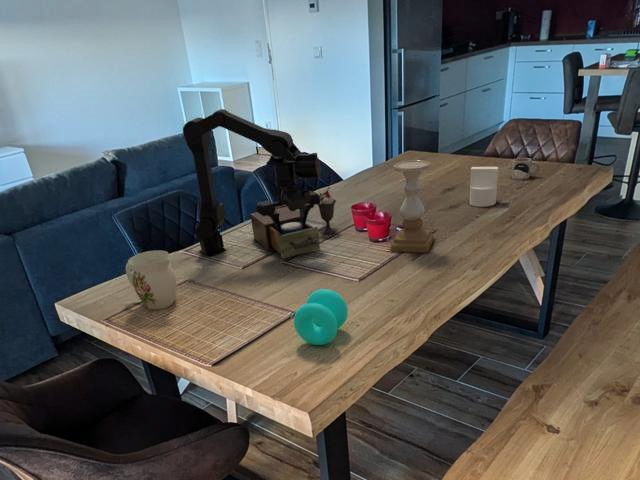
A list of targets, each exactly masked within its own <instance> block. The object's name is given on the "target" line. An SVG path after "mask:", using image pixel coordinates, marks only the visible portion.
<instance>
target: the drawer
mask: <svg viewBox="0 0 640 480" xmlns="http://www.w3.org/2000/svg"><path fill="white" fill-rule="evenodd" d="M289 222H300V223H301V221H300V219H298V220H293V221H289ZM289 222H285V223H289ZM285 223H281V224H280V225H282V224H285ZM267 228H268V234H269V241H270V245H271V246H272V247H273V248H274V249H275V251H277V252H278V253H279V254H280V257H281V259H286V258H290V257H295V256H299V255H302V254H306V253H310V252H314V251H318V250H321V245H320V235H319V227H318V226H312V225H311V224H309V223H307V222H306V223H305V227H304V230H301V231H296V232H292V233H288V234H284V235H281V233H279V231H278V230H277V228H276V226H275V225H272V226H268V227H267Z"/></svg>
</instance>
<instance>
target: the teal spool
mask: <svg viewBox="0 0 640 480" xmlns="http://www.w3.org/2000/svg"><path fill="white" fill-rule="evenodd" d="M348 315H349V309H348V306H347V303H346V301H345V299H344V298H343V297H342V295H340V294H339V293H338V292H336V291H334V290H331V289H329V288H328V289H327V288H320V289H317V290H315V291H313V292H312V293H310V294H309V296H308V298H307V299H306V303H305V304H303V305H301V306H300V307H298V309H297V310H296V312H295V314H294V317H293V326H294V329H295V331H296V333H297V335H298V336H299V337H300V338H301V339H302V340H303V341H304V342H306V343H307V344H309V345H313V346H324V345H327V344H329V343H331V342H332V341H333V340H334V339H335V337H336V336H337V333H338V329H339V328H341V327H342V326H343V325H344V324H345V323H346V321H347V319H348Z"/></svg>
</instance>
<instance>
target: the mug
mask: <svg viewBox="0 0 640 480" xmlns="http://www.w3.org/2000/svg"><path fill="white" fill-rule="evenodd" d="M533 165H535V166H536V171H532V172H531V168H532V167H531V166H533ZM540 169H541V165H540V162H539V161H533V160H532V158H529V157H517V158H513V159H512V167H511V179H512V180H517V181H523V180H528V179H530V176H537V175H538V174H539V173H540Z"/></svg>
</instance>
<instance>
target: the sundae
mask: <svg viewBox="0 0 640 480" xmlns="http://www.w3.org/2000/svg"><path fill="white" fill-rule="evenodd" d="M329 189H331V187H330V186H328V187H327V189H326V191H325V192H323V193H319V196H320V201H321V203H320V204H316V205H317V206H318V209H319V214H320V219H321V220H322V221H324V222H325V228H323V229H322V230H321V231H320V232H321V234H323V235H324V234H325V235H330V234H334V233H336V232H337V229H335V228H332V227H331V223H330V222H331V220H333V218H334V213H335V204H336V203H337V199H334V198H333V197H332V195H331V193H330V191H329Z"/></svg>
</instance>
